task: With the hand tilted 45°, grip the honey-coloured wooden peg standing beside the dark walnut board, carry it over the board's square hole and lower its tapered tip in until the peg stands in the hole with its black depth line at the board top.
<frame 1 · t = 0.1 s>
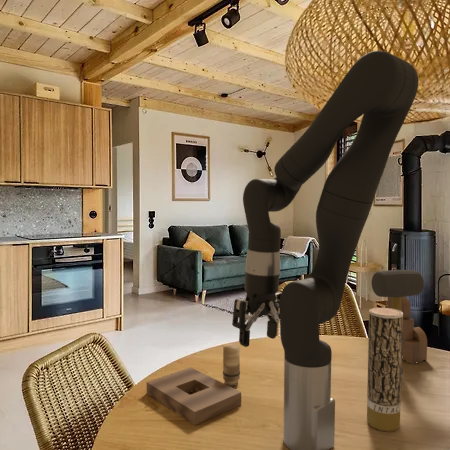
hand: (258, 341, 92), 17 cm above the table, tool pointing down, fingers open, 8 cm apart
board: (192, 398, 102), on the table
paper tube: (383, 425, 90), on the table
peg: (231, 383, 110), on the table
rubber mallet: (394, 377, 115), on the table
wooden toy: (400, 354, 132), on the table
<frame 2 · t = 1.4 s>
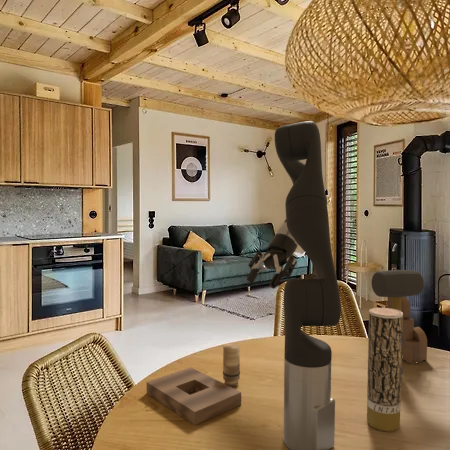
hand: (260, 284, 117), 25 cm above the table, tool tilted 45°, fingers open, 8 cm apart
nothing on the table moved.
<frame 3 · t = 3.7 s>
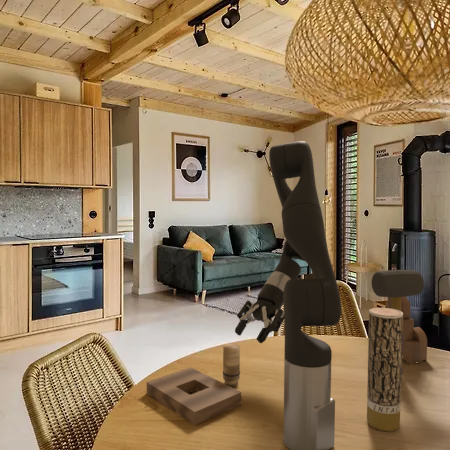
hand: (247, 337, 114), 11 cm above the table, tool tilted 45°, fingers open, 8 cm apart
nothing on the table moved.
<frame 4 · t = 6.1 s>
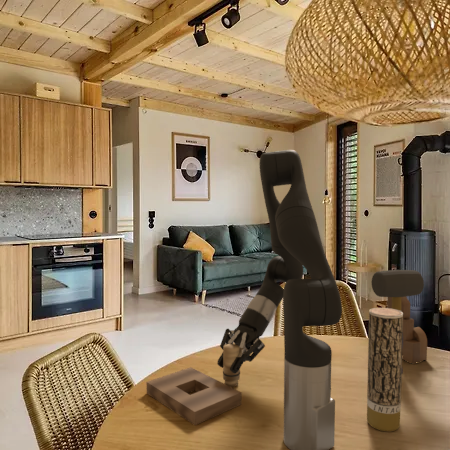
hand: (226, 368, 109), 5 cm above the table, tool tilted 45°, fingers closed on peg, 4 cm apart
peg: (231, 383, 110), on the table, touching gripper
everything else where it was.
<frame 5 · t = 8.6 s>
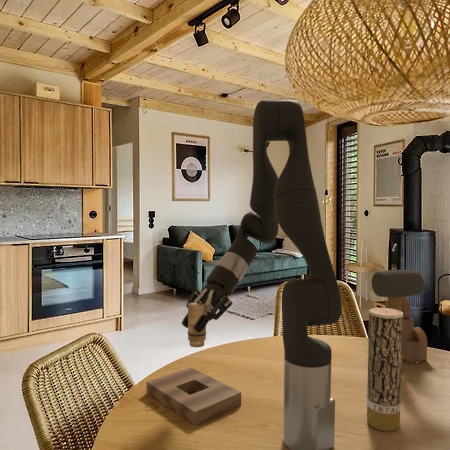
hand: (190, 328, 100), 18 cm above the table, tool tilted 45°, fingers closed on peg, 4 cm apart
peg: (196, 344, 102), point 13 cm above the table, touching gripper
everything else where it was.
when the fingers open (6 cm above the table, at t = 11.0 s): peg drops 1 cm, resting in board.
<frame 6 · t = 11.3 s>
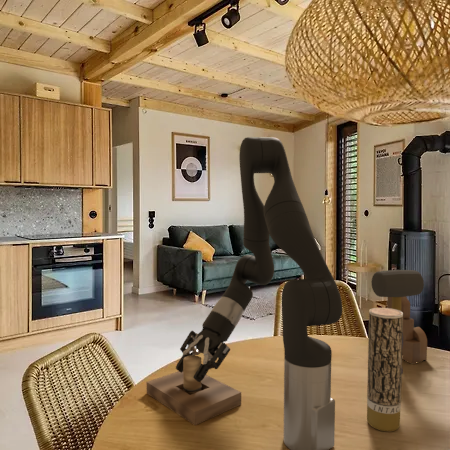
hand: (187, 375, 100), 6 cm above the table, tool tilted 45°, fingers open, 6 cm apart
peg: (192, 398, 102), resting in board
everything else where it was.
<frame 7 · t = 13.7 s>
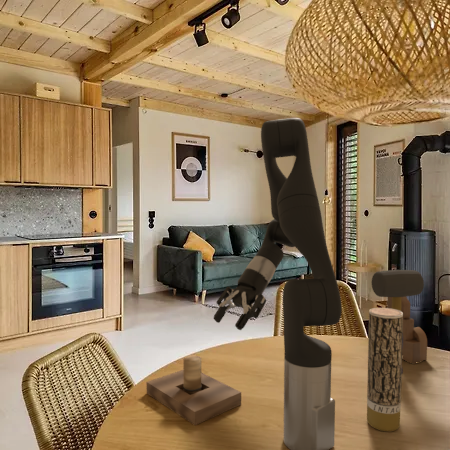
hand: (226, 324, 108), 16 cm above the table, tool tilted 45°, fingers open, 8 cm apart
nothing on the table moved.
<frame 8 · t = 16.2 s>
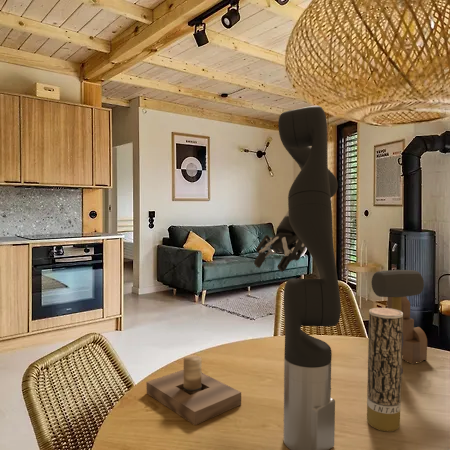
hand: (267, 267, 112), 31 cm above the table, tool tilted 45°, fingers open, 8 cm apart
nothing on the table moved.
at the end: peg 0.2 cm off-centre on the board, point 0.0 cm above the board's base; peg tilted 1°; the gripper is holding nothing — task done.
